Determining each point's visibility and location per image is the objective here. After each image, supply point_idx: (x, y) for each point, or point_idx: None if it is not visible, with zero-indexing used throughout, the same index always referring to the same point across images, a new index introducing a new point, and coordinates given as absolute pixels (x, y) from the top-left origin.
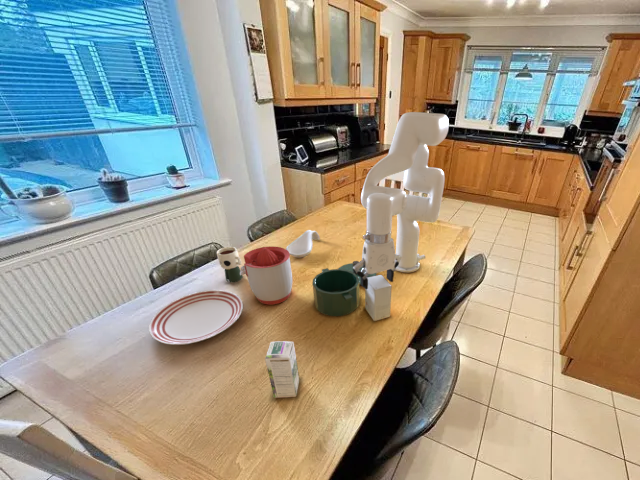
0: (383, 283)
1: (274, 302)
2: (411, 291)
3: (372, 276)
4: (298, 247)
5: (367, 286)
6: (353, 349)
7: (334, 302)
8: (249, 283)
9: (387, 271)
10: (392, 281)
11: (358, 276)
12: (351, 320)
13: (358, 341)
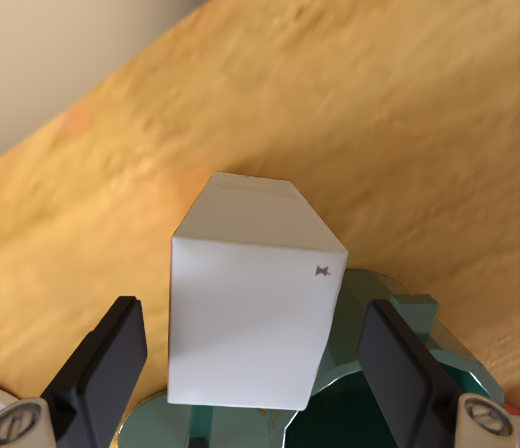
0: (224, 299)
1: (508, 408)
2: (30, 274)
3: (150, 411)
4: None
5: (382, 315)
6: (463, 70)
7: (434, 321)
8: None
9: (114, 420)
10: (123, 297)
11: (200, 427)
12: (360, 231)
13: (417, 104)
